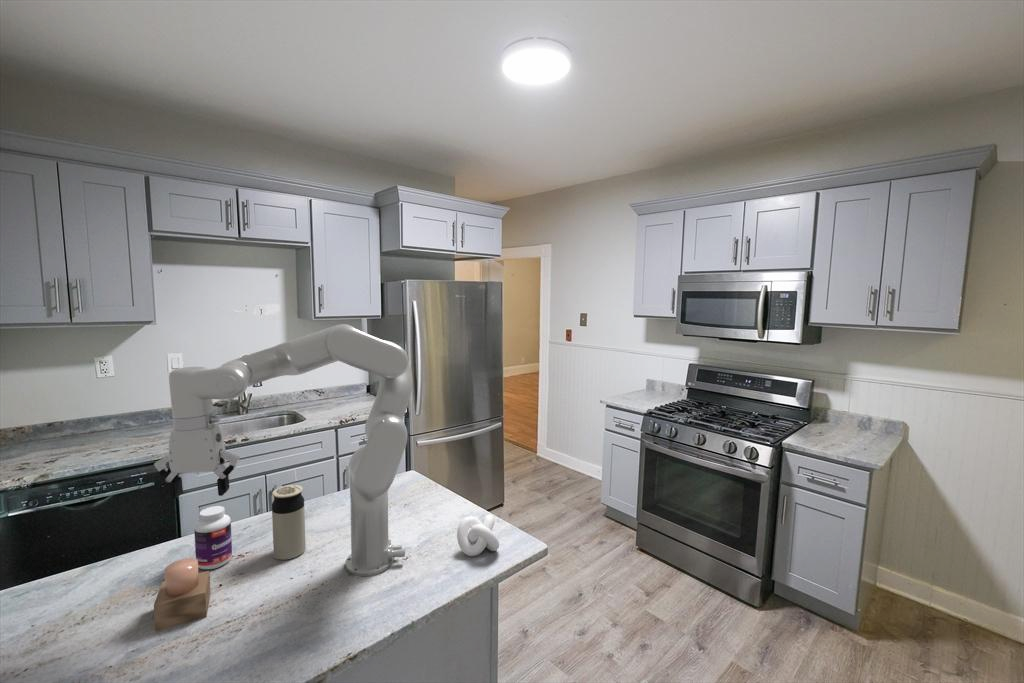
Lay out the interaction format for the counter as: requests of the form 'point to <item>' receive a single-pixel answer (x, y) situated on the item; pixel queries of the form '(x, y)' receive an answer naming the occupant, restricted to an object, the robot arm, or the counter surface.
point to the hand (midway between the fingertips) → (200, 494)
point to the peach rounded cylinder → (181, 576)
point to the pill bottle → (213, 538)
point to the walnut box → (182, 604)
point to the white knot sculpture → (477, 535)
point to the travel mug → (288, 522)
